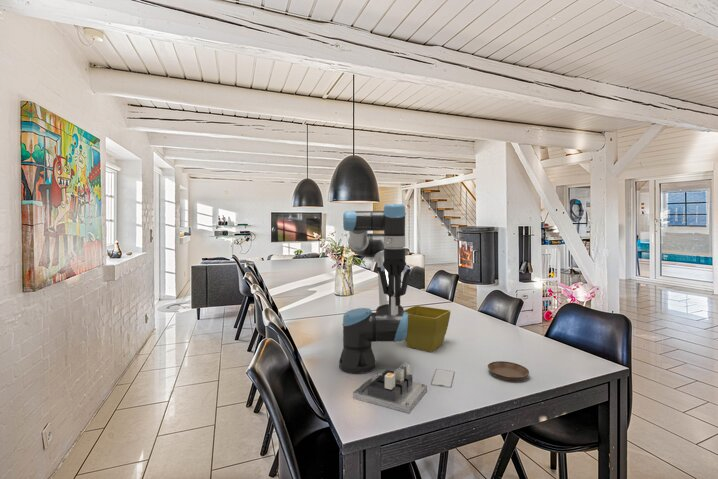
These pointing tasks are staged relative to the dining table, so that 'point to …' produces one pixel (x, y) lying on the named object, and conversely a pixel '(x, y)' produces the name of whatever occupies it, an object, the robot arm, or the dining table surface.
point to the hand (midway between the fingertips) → (394, 314)
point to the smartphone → (443, 378)
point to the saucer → (508, 370)
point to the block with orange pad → (389, 381)
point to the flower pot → (426, 327)
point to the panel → (391, 403)
